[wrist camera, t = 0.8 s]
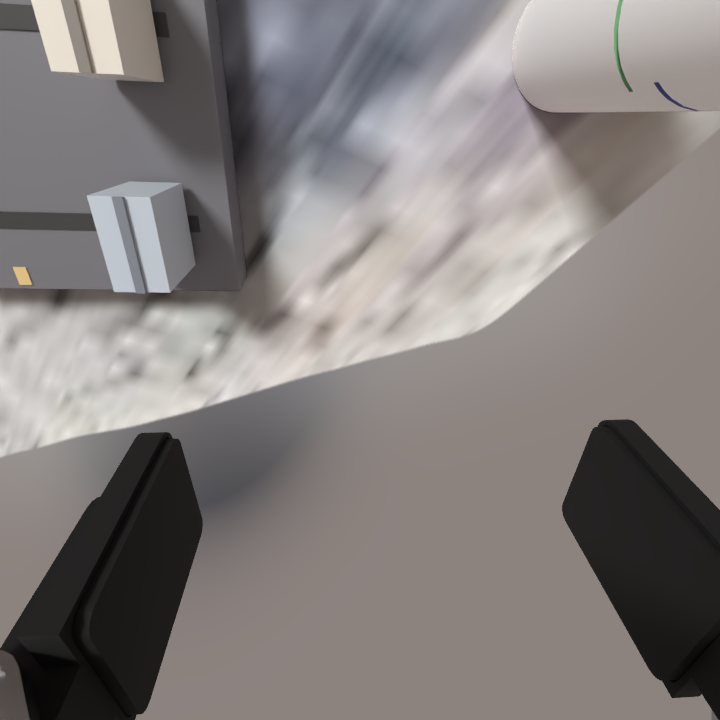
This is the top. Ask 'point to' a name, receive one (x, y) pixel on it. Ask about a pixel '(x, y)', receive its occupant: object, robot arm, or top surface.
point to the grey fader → (143, 235)
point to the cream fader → (100, 38)
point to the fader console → (114, 151)
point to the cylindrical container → (619, 55)
